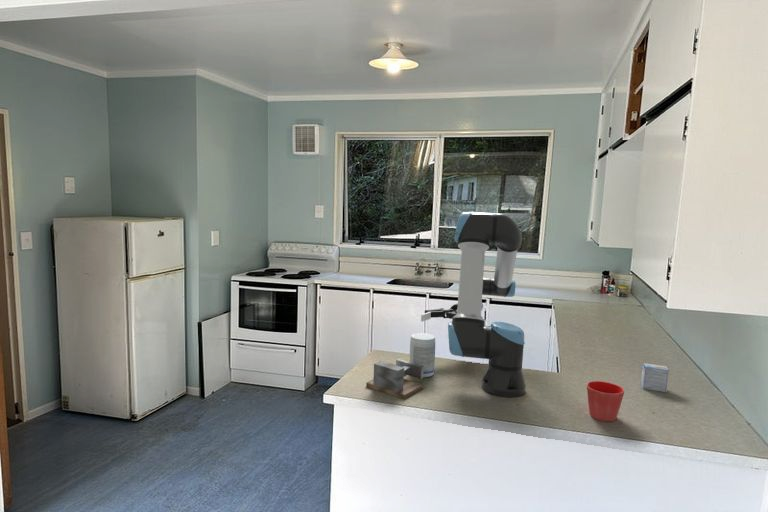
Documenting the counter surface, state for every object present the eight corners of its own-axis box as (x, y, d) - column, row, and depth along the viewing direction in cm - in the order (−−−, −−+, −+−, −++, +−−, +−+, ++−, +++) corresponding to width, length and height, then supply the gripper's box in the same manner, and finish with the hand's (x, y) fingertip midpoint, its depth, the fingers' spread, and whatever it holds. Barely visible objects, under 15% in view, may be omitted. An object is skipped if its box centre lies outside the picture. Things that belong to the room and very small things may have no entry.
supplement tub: (439, 375, 182) (441, 338, 180) (419, 380, 177) (421, 341, 175) (423, 367, 190) (425, 331, 188) (403, 371, 185) (405, 334, 183)
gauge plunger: (423, 377, 173) (423, 365, 173) (414, 382, 168) (414, 370, 168) (396, 370, 180) (397, 358, 179) (387, 374, 175) (388, 362, 174)
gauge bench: (422, 388, 168) (423, 364, 167) (404, 399, 159) (405, 373, 158) (385, 377, 178) (386, 353, 177) (366, 386, 168) (367, 361, 167)
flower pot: (577, 408, 157) (580, 380, 156) (609, 408, 158) (612, 380, 157) (594, 424, 147) (597, 393, 146) (628, 424, 148) (631, 393, 147)
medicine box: (663, 388, 179) (666, 366, 178) (666, 392, 174) (669, 369, 173) (640, 384, 181) (642, 362, 180) (642, 389, 177) (644, 366, 176)
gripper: (487, 325, 200) (464, 337, 183) (435, 314, 214) (409, 324, 197) (488, 308, 199) (466, 318, 182) (436, 298, 213) (410, 306, 196)
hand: (436, 321), depth 189 cm, fingers open, 13 cm apart
